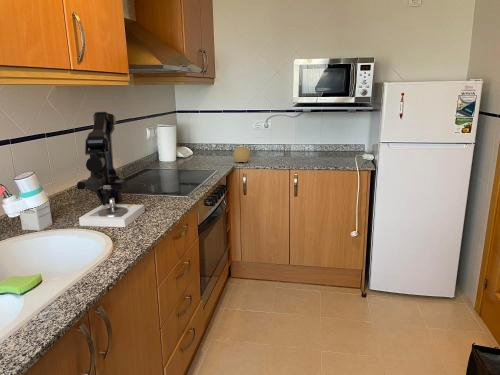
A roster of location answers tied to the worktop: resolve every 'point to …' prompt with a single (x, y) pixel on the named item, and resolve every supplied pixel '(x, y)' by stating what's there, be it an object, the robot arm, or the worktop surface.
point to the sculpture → (241, 154)
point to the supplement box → (37, 217)
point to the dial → (113, 210)
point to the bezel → (123, 221)
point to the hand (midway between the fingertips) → (104, 205)
